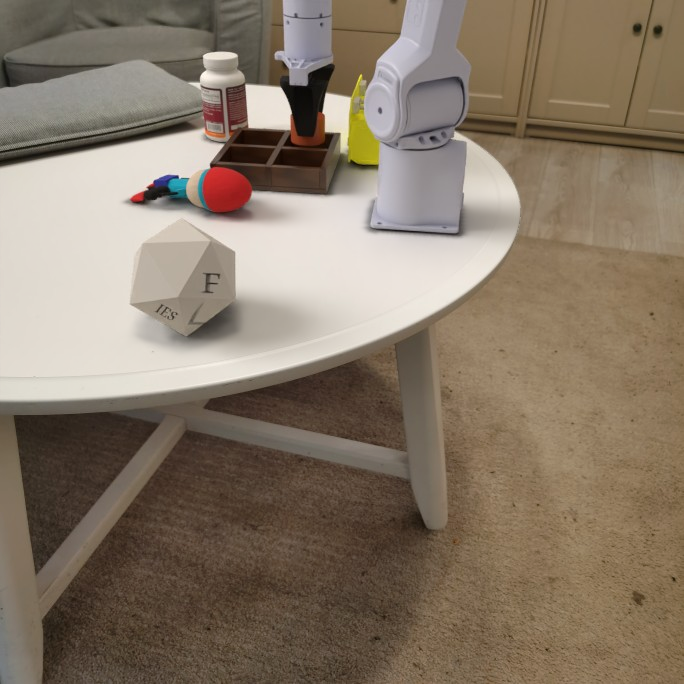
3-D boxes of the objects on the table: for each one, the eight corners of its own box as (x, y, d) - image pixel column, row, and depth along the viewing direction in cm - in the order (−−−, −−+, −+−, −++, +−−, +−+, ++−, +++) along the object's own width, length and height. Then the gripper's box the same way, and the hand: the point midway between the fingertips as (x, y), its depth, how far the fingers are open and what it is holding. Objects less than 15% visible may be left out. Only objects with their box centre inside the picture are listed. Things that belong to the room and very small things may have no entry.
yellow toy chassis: (356, 129, 105) (358, 71, 100) (395, 131, 105) (398, 72, 100) (344, 168, 92) (345, 102, 87) (388, 170, 91) (391, 104, 87)
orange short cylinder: (327, 135, 93) (327, 111, 92) (322, 146, 90) (322, 121, 88) (294, 134, 94) (293, 109, 92) (288, 145, 90) (287, 119, 88)
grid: (340, 154, 96) (340, 132, 94) (326, 194, 85) (326, 170, 83) (239, 148, 97) (237, 127, 96) (211, 187, 86) (209, 163, 84)
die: (125, 354, 58) (176, 285, 51) (102, 264, 61) (147, 189, 55) (216, 352, 64) (271, 290, 57) (190, 270, 67) (240, 203, 61)
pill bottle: (246, 128, 105) (241, 49, 99) (251, 141, 100) (246, 59, 94) (203, 130, 104) (196, 50, 97) (206, 144, 99) (198, 61, 92)
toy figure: (128, 216, 82) (234, 222, 75) (118, 174, 80) (226, 175, 73) (171, 199, 88) (272, 202, 81) (162, 159, 86) (266, 159, 79)
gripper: (285, 3, 90) (288, 111, 97) (261, 24, 78) (266, 146, 85) (340, 5, 89) (339, 114, 97) (324, 27, 77) (324, 149, 85)
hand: (308, 129), depth 91 cm, fingers closed on orange short cylinder, 4 cm apart
